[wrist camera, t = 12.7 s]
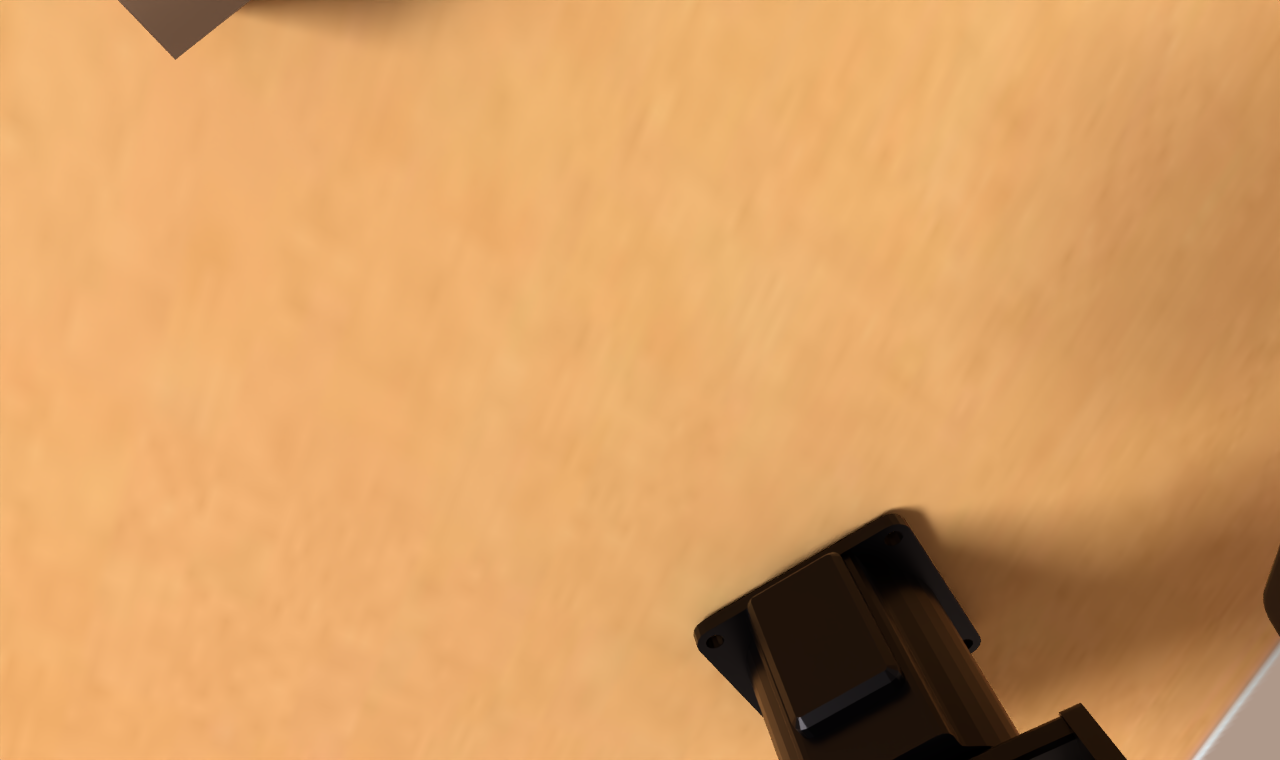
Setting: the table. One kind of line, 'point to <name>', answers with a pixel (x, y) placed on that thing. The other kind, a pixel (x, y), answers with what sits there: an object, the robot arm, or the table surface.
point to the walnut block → (181, 19)
